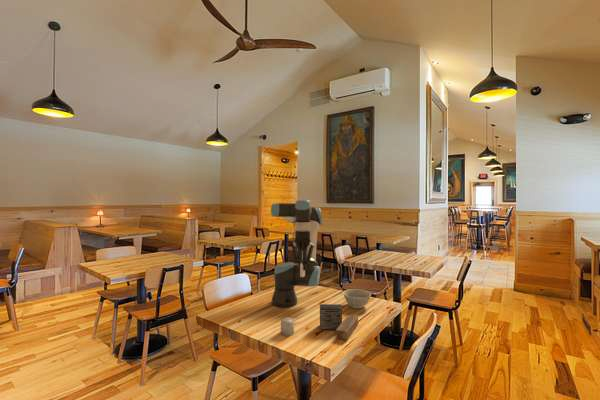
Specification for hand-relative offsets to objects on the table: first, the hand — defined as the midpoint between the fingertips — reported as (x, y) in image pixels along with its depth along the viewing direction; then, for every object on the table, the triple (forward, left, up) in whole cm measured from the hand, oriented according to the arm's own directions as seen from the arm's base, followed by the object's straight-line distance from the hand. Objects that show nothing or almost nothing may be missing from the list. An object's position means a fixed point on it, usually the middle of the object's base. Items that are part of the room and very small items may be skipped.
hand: (302, 276), depth 150 cm
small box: (+16, -2, -23) cm, 28 cm away
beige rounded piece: (0, -16, -22) cm, 28 cm away
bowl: (+20, +31, -23) cm, 43 cm away
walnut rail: (+24, -2, -22) cm, 33 cm away
